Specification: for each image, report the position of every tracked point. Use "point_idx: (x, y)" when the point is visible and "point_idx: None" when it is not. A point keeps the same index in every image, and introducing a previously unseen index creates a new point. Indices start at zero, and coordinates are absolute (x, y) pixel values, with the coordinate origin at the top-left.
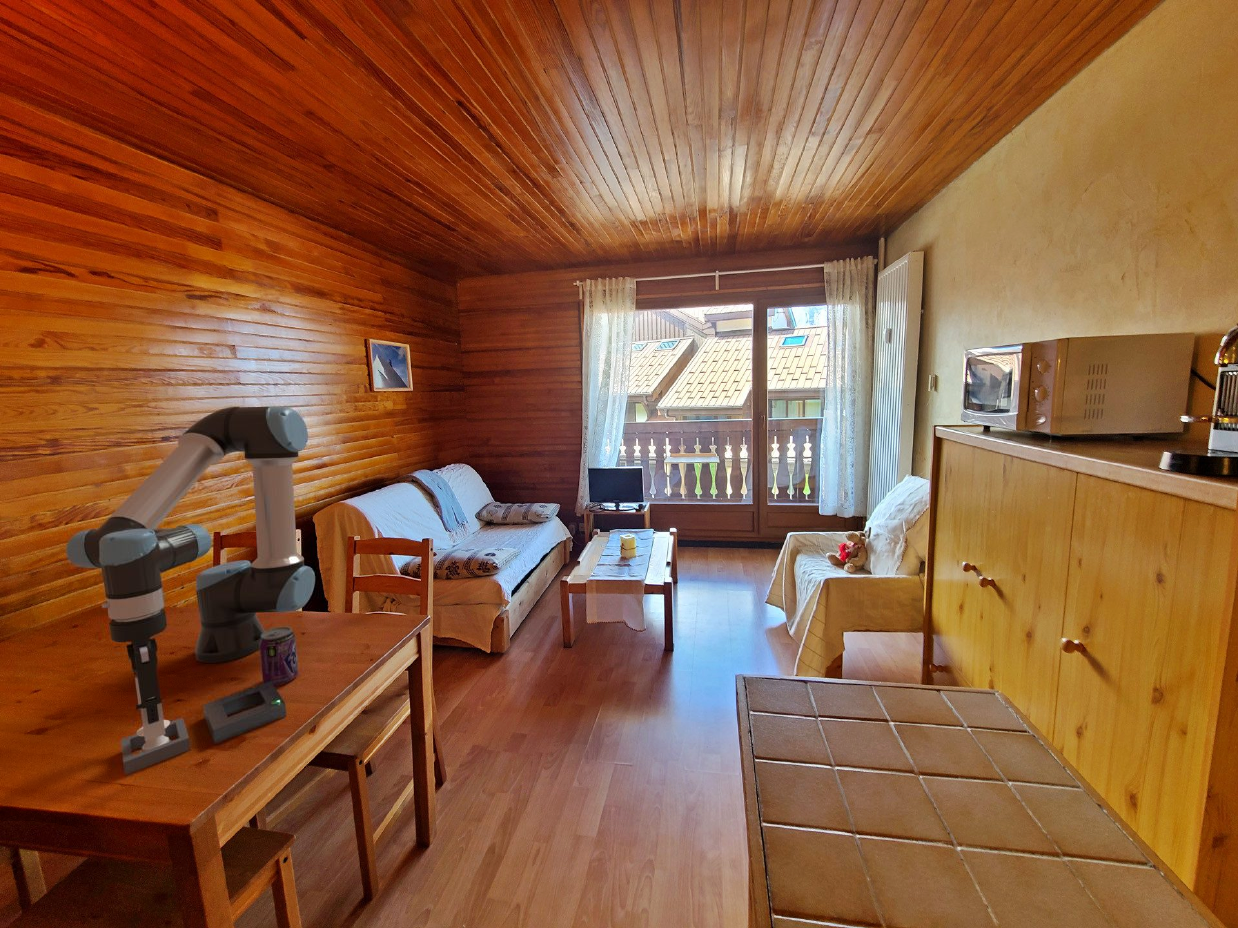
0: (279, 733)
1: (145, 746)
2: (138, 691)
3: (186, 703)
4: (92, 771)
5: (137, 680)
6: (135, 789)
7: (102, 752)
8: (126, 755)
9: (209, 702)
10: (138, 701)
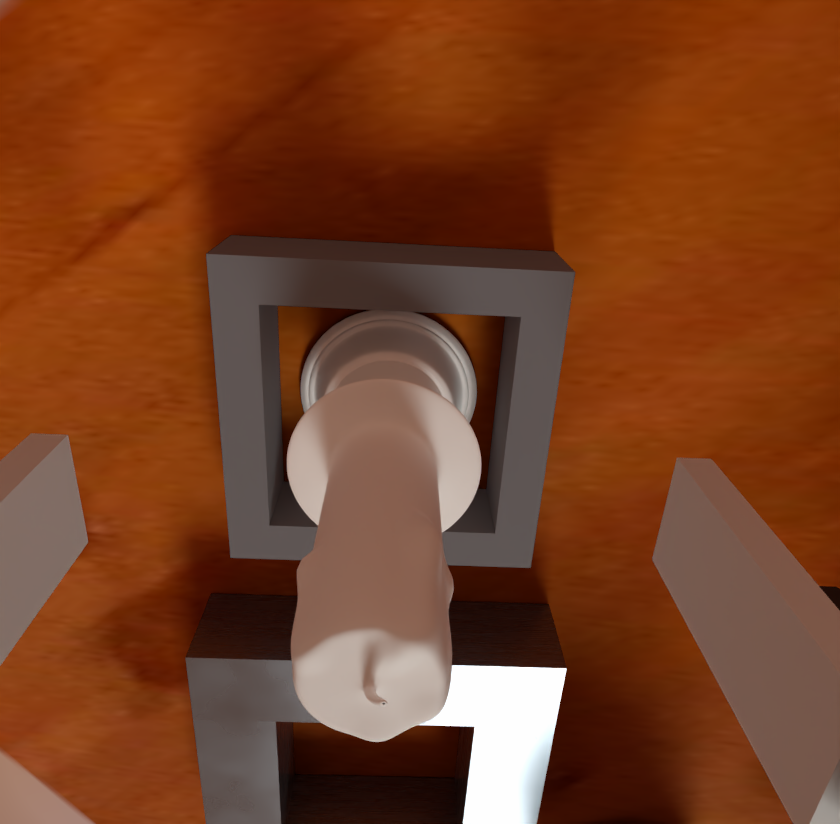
0: (93, 771)
1: (370, 370)
2: (754, 577)
3: (819, 568)
4: (446, 84)
5: (834, 688)
6: (20, 260)
7: (657, 155)
8: (290, 277)
9: (557, 691)
10: (706, 502)
